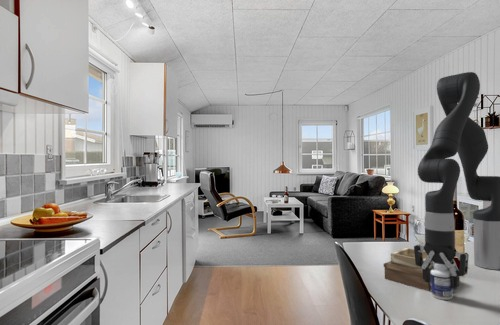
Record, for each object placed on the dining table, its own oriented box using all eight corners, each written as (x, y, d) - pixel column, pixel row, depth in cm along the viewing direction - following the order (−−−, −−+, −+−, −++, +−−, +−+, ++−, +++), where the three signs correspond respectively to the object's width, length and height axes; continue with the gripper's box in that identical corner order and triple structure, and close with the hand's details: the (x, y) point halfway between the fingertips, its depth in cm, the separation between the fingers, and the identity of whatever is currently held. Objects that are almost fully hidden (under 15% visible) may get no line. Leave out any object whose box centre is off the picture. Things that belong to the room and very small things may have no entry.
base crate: (404, 269, 116) (404, 255, 116) (448, 280, 105) (448, 265, 105) (383, 278, 108) (383, 263, 108) (429, 291, 96) (428, 274, 96)
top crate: (407, 257, 114) (406, 247, 114) (440, 264, 105) (440, 254, 105) (391, 263, 107) (390, 253, 107) (425, 272, 99) (425, 260, 99)
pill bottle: (432, 291, 96) (432, 258, 97) (453, 295, 93) (453, 261, 93) (429, 297, 92) (428, 263, 92) (451, 301, 89) (450, 266, 89)
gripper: (472, 229, 89) (474, 289, 89) (419, 222, 101) (420, 275, 101) (462, 233, 85) (463, 296, 85) (408, 225, 96) (409, 281, 96)
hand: (440, 284), depth 93 cm, fingers open, 6 cm apart
